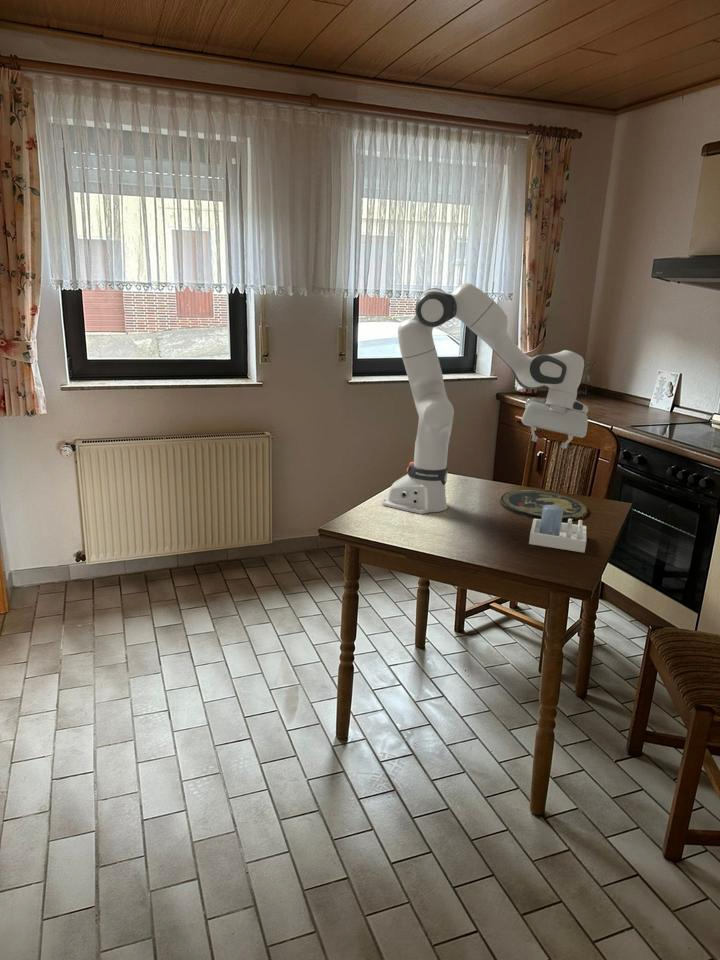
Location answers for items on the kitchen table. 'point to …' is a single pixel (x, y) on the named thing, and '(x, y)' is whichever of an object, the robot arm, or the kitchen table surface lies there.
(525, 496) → the decorative plate
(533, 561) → the kitchen table surface
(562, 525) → the white pegged tray
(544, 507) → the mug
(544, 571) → the kitchen table surface
